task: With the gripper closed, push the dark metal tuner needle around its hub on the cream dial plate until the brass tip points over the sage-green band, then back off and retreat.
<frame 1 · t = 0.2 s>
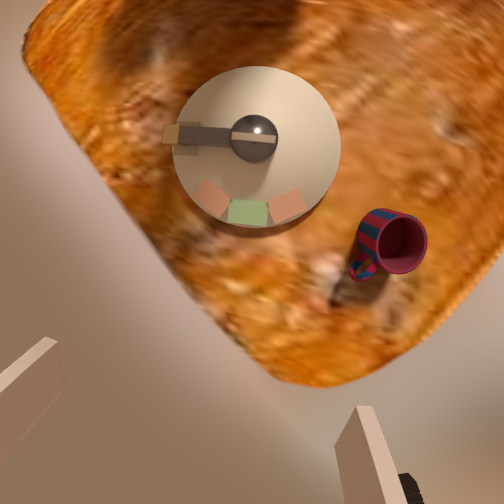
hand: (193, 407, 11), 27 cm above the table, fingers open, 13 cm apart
dial plate: (256, 144, 34), on the table
mug: (370, 240, 36), on the table
needle: (220, 137, 30), point 4 cm above the table, hinge at 0.0°
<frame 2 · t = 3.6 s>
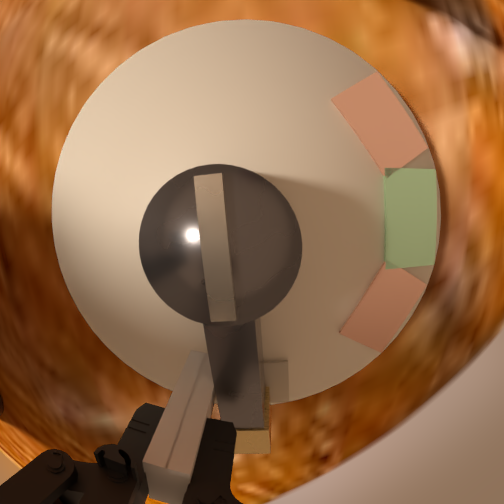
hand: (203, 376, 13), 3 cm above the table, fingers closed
dial plate: (236, 223, 14), on the table
needle: (235, 331, 11), point 4 cm above the table, hinge at 0.0°, touching gripper
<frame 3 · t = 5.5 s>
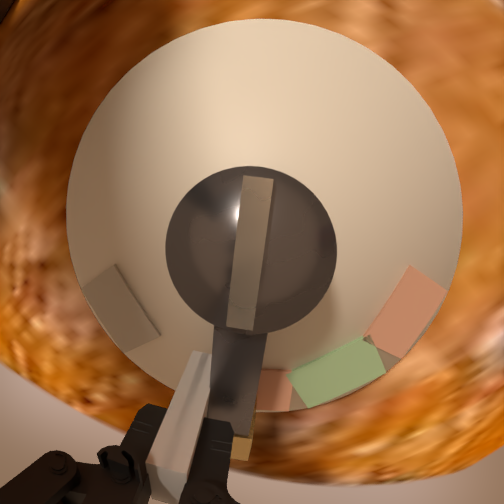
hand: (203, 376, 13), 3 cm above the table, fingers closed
dial plate: (260, 226, 14), on the table
needle: (241, 336, 11), point 4 cm above the table, hinge at 52.8°, touching gripper
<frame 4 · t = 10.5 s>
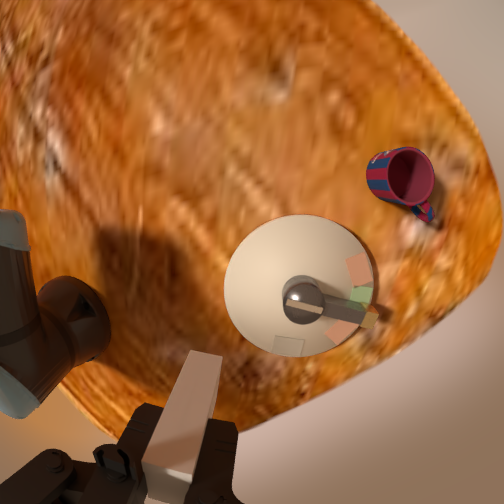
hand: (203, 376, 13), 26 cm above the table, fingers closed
dial plate: (299, 288, 39), on the table
mug: (393, 187, 36), on the table
needle: (330, 306, 36), point 4 cm above the table, hinge at 84.2°
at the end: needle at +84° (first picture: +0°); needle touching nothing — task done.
